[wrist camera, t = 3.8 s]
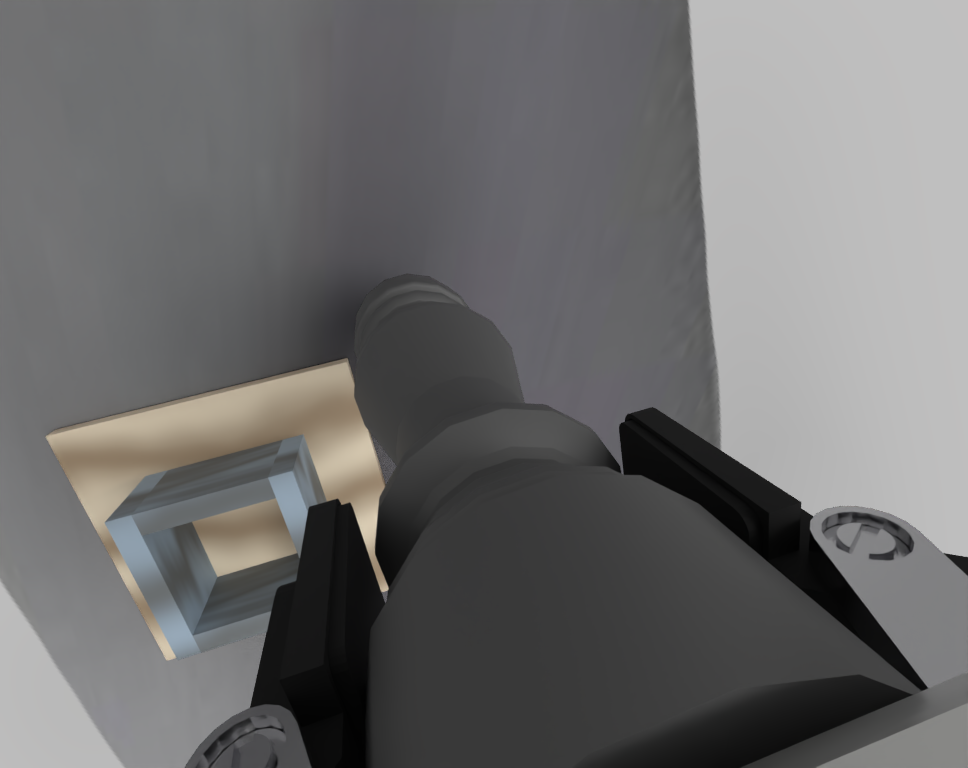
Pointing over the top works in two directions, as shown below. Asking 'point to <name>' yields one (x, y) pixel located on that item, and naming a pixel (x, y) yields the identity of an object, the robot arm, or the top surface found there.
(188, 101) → the top surface
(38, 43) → the top surface
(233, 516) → the socket board
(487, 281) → the top surface
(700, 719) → the candle holder
